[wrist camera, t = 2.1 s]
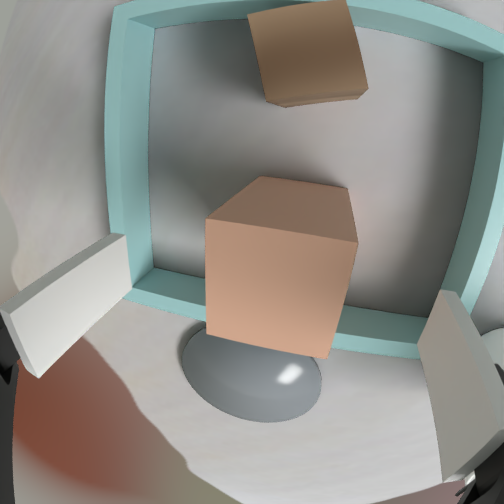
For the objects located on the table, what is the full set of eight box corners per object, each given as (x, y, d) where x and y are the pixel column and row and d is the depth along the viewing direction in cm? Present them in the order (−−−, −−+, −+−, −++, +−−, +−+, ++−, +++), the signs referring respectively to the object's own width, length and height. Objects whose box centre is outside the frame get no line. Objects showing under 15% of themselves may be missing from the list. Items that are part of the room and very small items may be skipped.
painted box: (257, 175, 17) (201, 217, 10) (347, 188, 16) (358, 243, 9) (252, 253, 19) (203, 332, 12) (333, 267, 18) (327, 359, 11)
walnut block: (271, 42, 14) (247, 14, 9) (342, 32, 12) (345, -1, 8) (285, 107, 15) (265, 101, 11) (357, 99, 14) (368, 88, 9)
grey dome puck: (179, 306, 23) (176, 310, 22) (337, 339, 20) (337, 345, 20) (189, 398, 28) (187, 402, 27) (305, 427, 25) (305, 431, 25)
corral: (141, 16, 14) (114, 6, 11) (498, 52, 10) (522, 44, 7) (142, 278, 22) (120, 297, 20) (436, 333, 18) (445, 361, 15)
